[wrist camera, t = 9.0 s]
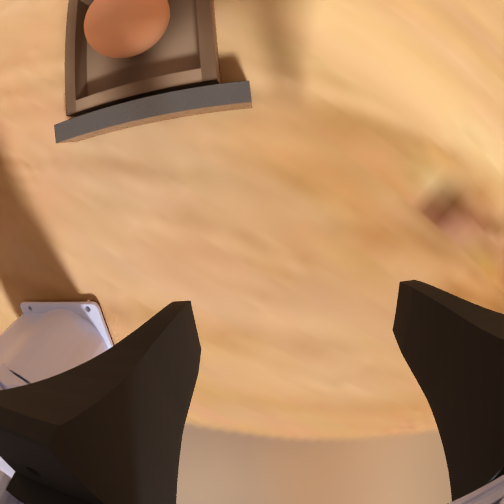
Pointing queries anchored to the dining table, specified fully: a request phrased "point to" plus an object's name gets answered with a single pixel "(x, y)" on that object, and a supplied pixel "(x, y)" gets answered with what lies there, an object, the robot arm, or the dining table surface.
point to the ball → (125, 26)
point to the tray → (141, 60)
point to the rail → (156, 110)
